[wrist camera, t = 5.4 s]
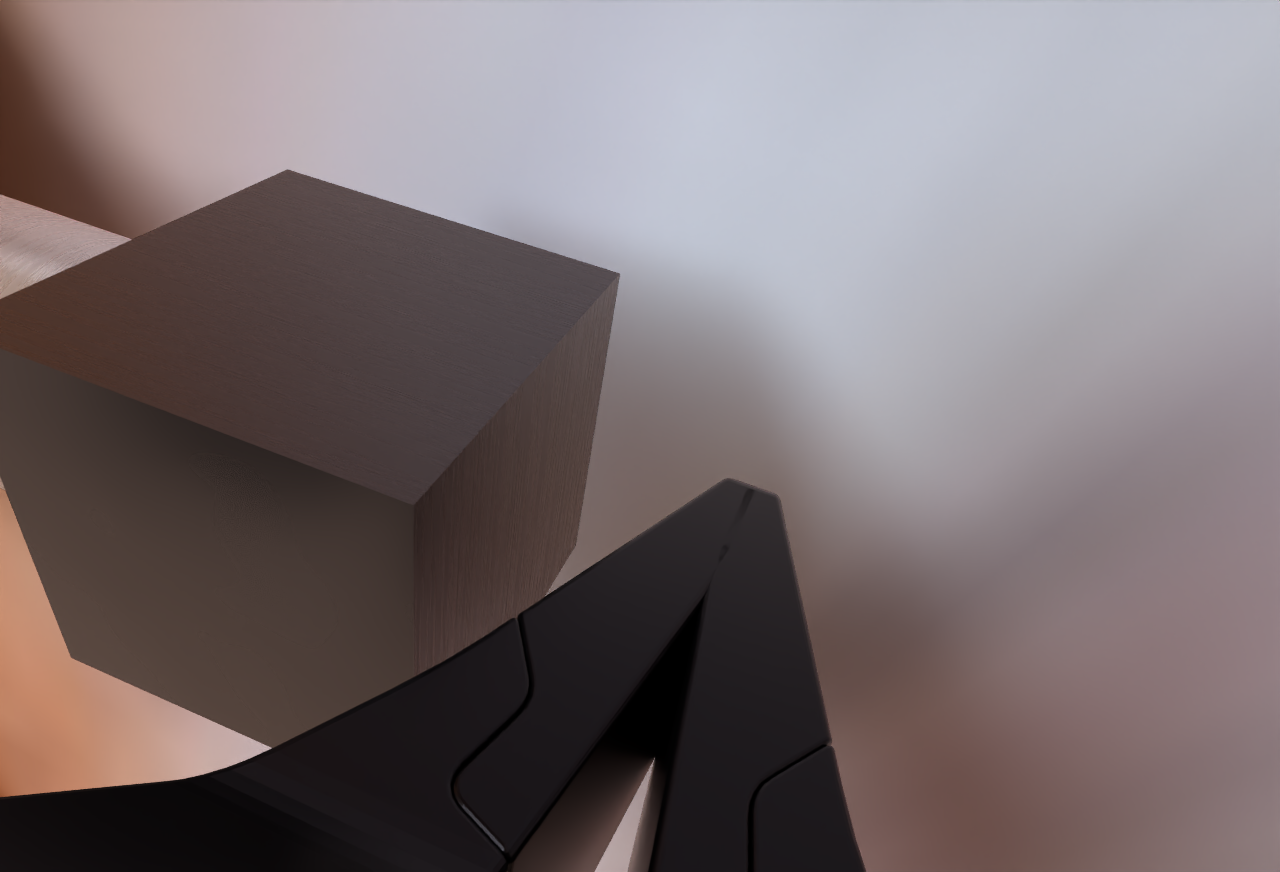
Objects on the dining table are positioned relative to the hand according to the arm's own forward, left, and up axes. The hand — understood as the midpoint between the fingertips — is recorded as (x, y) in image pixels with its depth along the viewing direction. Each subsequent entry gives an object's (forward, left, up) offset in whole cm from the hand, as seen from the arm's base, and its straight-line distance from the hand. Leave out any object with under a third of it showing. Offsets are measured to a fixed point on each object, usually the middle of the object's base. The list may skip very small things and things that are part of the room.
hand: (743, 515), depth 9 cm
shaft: (+13, 0, -1) cm, 13 cm away
